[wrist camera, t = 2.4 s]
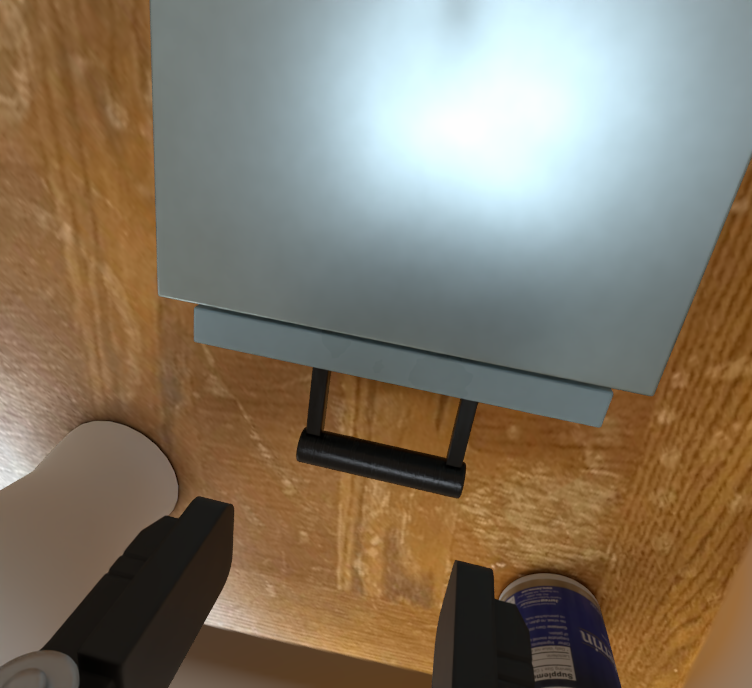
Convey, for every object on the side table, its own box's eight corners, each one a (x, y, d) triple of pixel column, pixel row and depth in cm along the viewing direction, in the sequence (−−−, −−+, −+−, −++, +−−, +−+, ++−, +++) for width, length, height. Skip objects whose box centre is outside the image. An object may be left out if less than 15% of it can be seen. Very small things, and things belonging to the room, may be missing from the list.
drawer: (525, 437, 25) (547, 573, 17) (275, 383, 26) (192, 486, 19) (698, -124, 16) (894, -349, 9) (315, -162, 18) (193, -387, 10)
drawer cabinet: (580, 288, 23) (654, 398, 13) (280, 232, 24) (156, 296, 15) (742, -227, 16) (1122, -737, 7) (314, -261, 17) (126, -717, 8)
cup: (71, 364, 29) (-285, 569, 16) (230, 466, 30) (24, 747, 16) (22, 482, 34) (-290, 723, 20) (162, 568, 34) (-46, 859, 21)
